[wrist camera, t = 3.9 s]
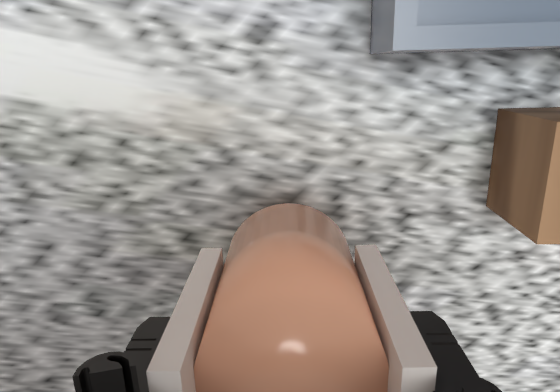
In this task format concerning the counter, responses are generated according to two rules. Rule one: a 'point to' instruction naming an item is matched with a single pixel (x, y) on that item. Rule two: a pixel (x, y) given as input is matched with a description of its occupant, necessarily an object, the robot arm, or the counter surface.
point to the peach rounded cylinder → (290, 312)
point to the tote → (463, 25)
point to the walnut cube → (527, 172)
